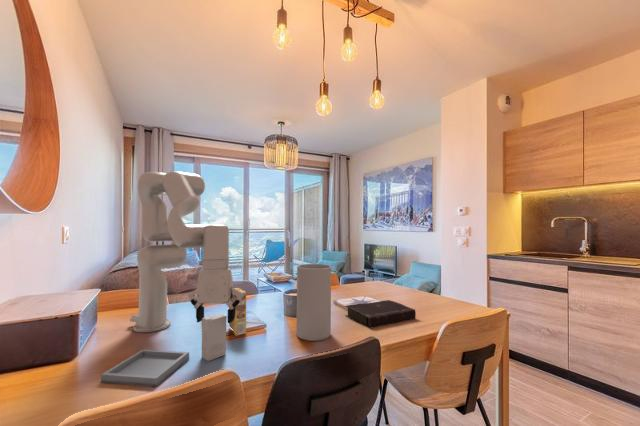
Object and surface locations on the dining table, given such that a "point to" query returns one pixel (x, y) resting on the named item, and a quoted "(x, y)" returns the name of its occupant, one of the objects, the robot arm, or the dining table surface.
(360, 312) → the diary
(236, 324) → the candy box
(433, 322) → the dining table surface
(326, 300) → the cylinder vase
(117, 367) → the tray
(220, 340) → the skincare box
